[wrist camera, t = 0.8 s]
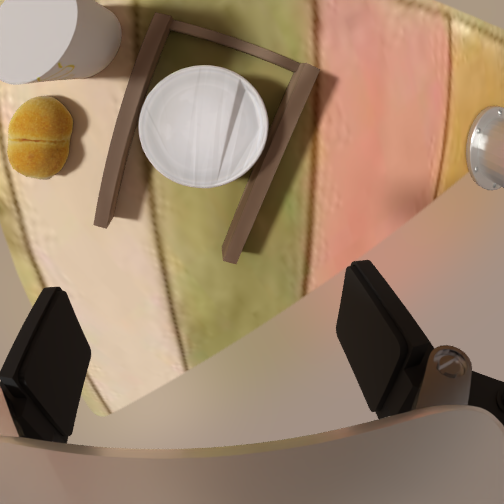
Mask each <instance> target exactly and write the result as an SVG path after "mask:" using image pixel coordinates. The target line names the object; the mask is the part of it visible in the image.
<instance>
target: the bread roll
mask: <svg viewBox="0 0 504 504" xmlns="http://www.w3.org/2000/svg"><path fill="white" fill-rule="evenodd" d="M72 129H73V119H72V116H71V114H70V113H69V111H68V110H67V109H66V108H65V106H64V105H63V104H62V103H60V102H59V101H58V100H56V99H55V98H53V97H50V96H39V97H35V98H32V99H30V100H28V101H26V102H25V103H24V104H23V105H21V106H20V107H19V108H18V110H17V111H16V113H15V114H14V115H13V117H12V119H11V121H10V124H9V129H8V150H7V153H8V157H9V161H10V164H11V165H12V167H13V169H15V170H16V171H17V172H19V173H21V174H23V175H25V176H26V177H31V178H37V179H45V180H47V179H50V178H51V177H52V176H53V175H55V174H56V173H58V172H59V171H60V170H61V169H62V168H63V166H64V164H65V162H66V160H67V158H68V154H69V143H70V136H71V133H72Z"/></svg>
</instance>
